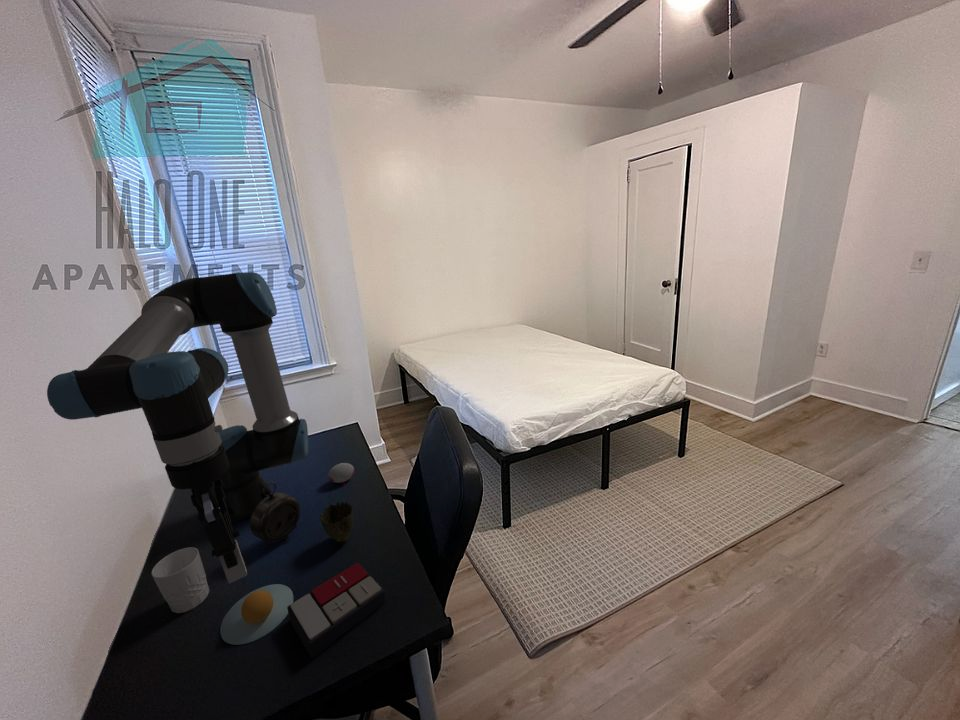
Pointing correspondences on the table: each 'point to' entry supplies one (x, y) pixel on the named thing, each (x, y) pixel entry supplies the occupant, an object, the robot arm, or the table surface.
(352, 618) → the calculator
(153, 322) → the robot arm
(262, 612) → the ball
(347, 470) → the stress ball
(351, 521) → the dark brown rounded lump
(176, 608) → the white cup
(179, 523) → the table surface
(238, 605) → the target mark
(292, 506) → the alarm clock
